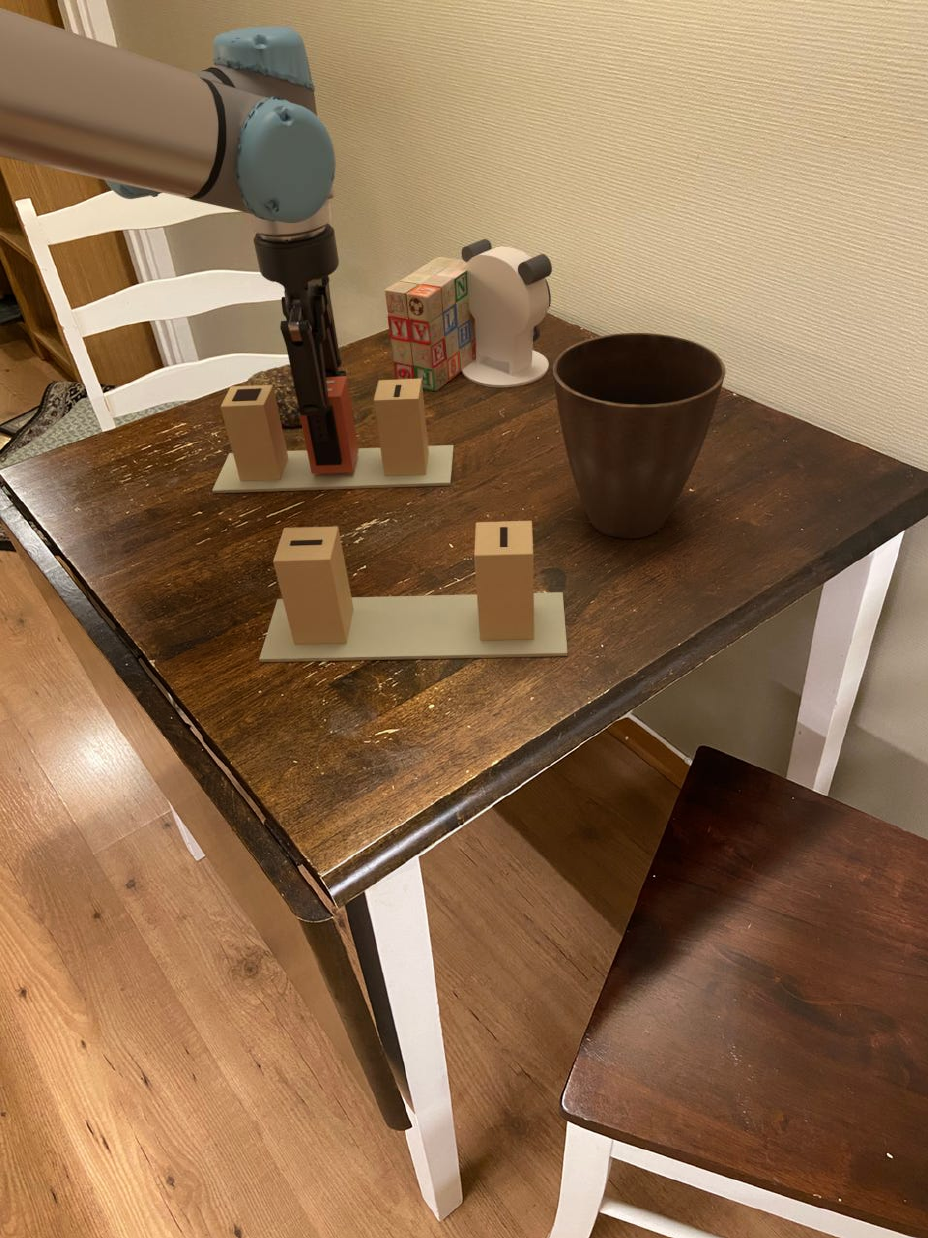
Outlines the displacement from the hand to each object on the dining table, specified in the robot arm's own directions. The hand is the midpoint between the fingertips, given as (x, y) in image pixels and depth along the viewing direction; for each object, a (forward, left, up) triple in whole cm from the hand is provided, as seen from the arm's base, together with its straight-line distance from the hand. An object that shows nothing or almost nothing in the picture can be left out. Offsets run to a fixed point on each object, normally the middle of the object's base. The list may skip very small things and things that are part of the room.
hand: (332, 450), depth 97 cm
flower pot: (+31, -11, -3) cm, 33 cm away
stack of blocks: (+13, +29, -3) cm, 31 cm away
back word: (0, 0, -3) cm, 3 cm away
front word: (+11, -27, -3) cm, 29 cm away
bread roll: (-8, +16, -3) cm, 18 cm away
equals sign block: (0, 0, -2) cm, 2 cm away
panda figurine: (+19, +24, -3) cm, 31 cm away
